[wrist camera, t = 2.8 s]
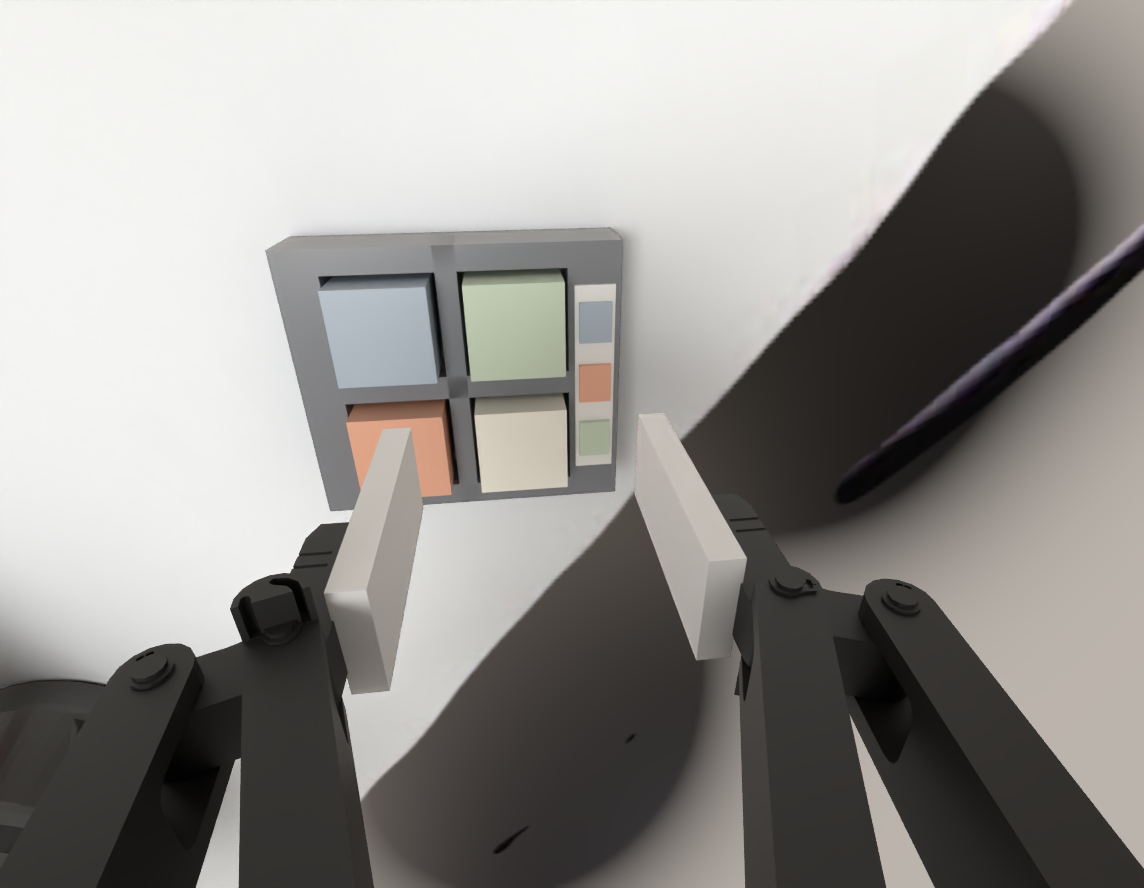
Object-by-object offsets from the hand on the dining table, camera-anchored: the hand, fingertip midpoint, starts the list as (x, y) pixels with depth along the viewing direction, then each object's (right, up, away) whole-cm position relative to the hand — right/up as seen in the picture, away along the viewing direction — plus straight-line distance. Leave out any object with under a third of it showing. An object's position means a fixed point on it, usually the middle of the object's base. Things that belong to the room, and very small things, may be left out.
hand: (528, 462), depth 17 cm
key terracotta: (-8, +1, +16) cm, 17 cm away
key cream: (-2, +2, +16) cm, 16 cm away
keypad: (-5, +5, +16) cm, 17 cm away
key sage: (-2, +7, +13) cm, 15 cm away
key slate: (-8, +7, +12) cm, 16 cm away
